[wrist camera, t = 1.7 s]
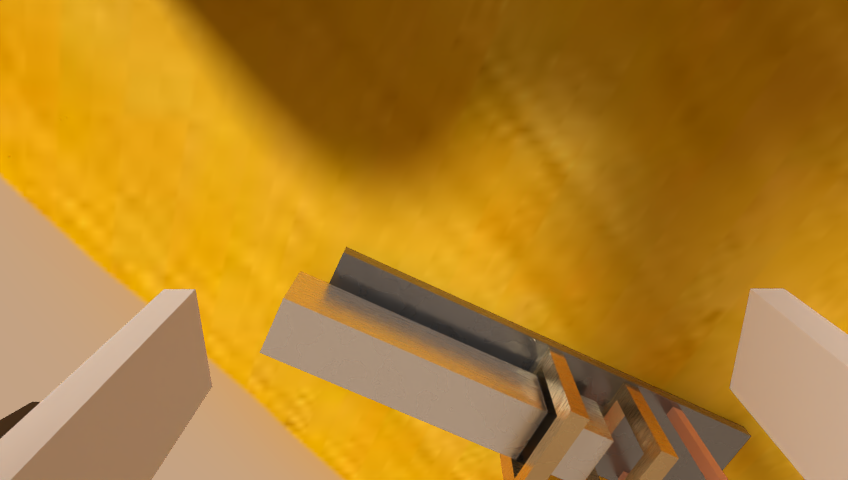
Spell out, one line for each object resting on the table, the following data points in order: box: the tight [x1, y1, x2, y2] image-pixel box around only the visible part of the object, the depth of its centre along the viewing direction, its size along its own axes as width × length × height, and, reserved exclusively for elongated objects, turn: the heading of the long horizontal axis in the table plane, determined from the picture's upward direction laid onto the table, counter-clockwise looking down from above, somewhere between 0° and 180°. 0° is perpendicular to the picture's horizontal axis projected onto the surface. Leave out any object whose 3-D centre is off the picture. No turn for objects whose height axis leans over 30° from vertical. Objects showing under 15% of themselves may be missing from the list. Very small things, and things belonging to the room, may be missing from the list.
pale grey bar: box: [260, 271, 614, 480], centre depth 35 cm, size 22×4×4 cm, turn 64°
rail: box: [329, 247, 751, 480], centre depth 36 cm, size 32×8×8 cm, turn 64°
